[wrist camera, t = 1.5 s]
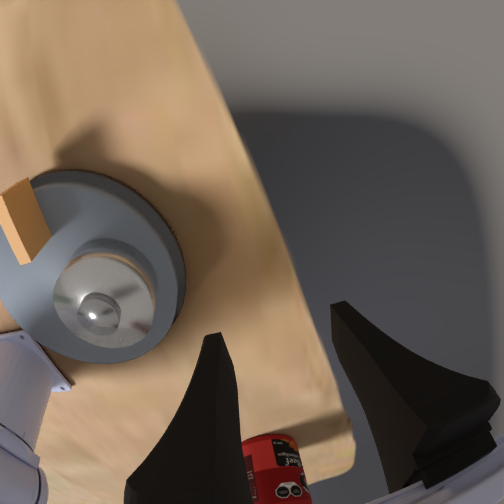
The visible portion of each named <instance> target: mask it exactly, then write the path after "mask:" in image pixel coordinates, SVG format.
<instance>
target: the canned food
mask: <svg viewBox="0 0 504 504" xmlns="http://www.w3.org/2000/svg"><path fill="white" fill-rule="evenodd" d="M242 449H243V454H244V460H245V465H246V470H247V475H248V479H249V484H250V489H251V493H252V497H253V502H254V504H312V499H311V496H310V492H309V488H308V485H307V481H306V477H305V473H304V470H303V466H302V462H301V458H300V455H299V451H298V447H297V444H296V443H295V441H294V440H293V439H292V438H291V437H289V436H286V435H281V434H269V435H262V436H257V437H253V438H250V439H248V440H246V441H244V442H242Z"/></svg>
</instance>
